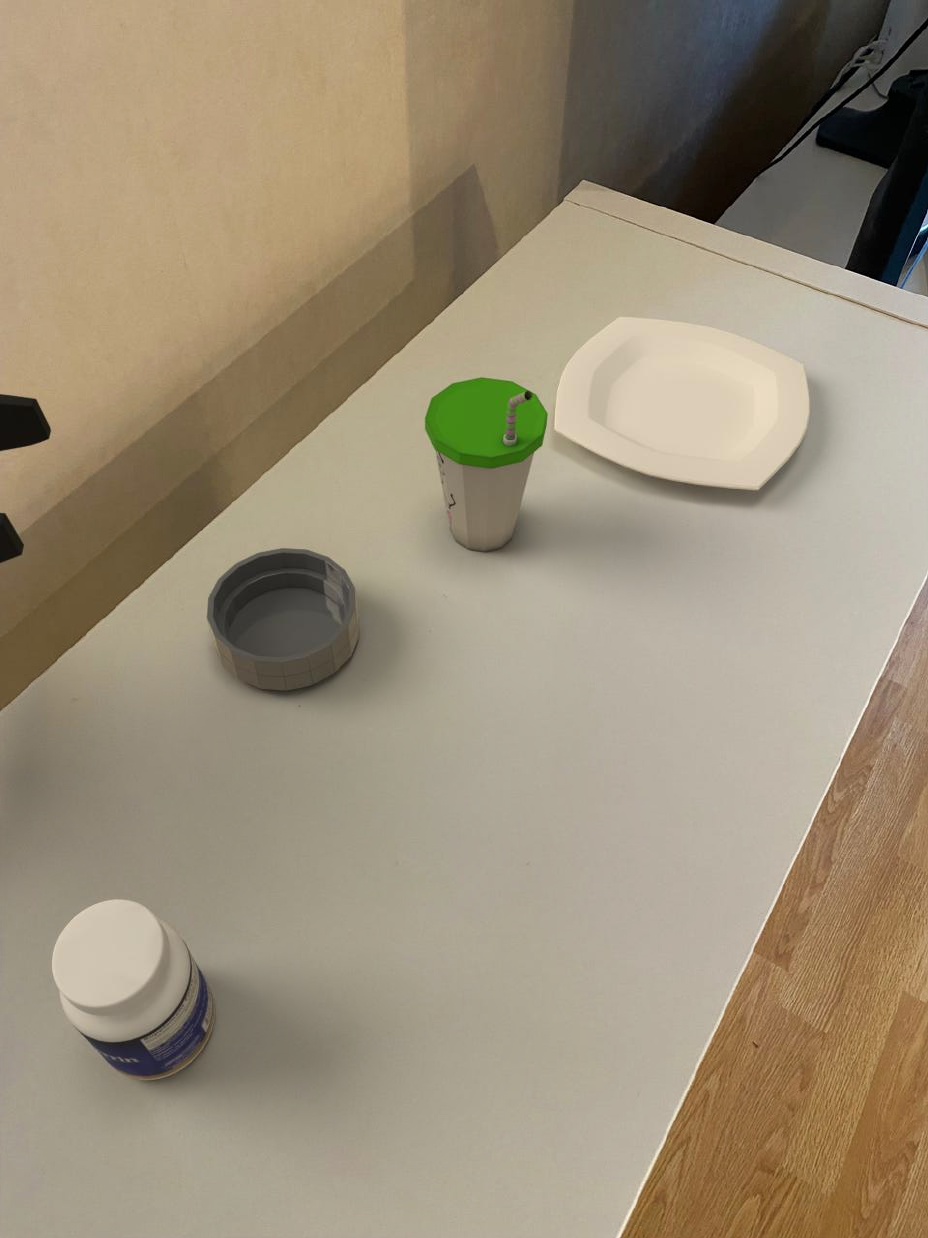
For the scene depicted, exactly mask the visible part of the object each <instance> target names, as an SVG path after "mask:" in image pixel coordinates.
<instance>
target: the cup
mask: <svg viewBox="0 0 928 1238" xmlns="http://www.w3.org/2000/svg"><path fill="white" fill-rule="evenodd" d="M548 415H549V414H548V412H547V410H546V408H545V407H544V405H543V404H542V402H541V400H540V399H539V397H538V395H537V394H536V393H534V392H532V391H531V390H529V389H527V388H525V387H523V386H521V385H520V384H518V383H516V382H515V381H512V380H507V379H497V378H491V377H490V378H489V377H482V376H481V377H476V378H472V379H467V380H461V381H457V382H453V383H451V384H449V385H448V386H447V387H445V388H444V389H442V390H441V391H440V392H438V393H437V394H435V395H434V396H432V397H431V399H430V402H429V404H428V407H427V411H426V414H425V416H424V430H425V432H426V434H427V436H428V438H429V440H430V443H431V445H432V447H433V448H434V451H435V457H436V461H437V468H438V472H439V479H440V482H441V483H440V484H441V489H442V493H443V498H444V505H445V510H446V514H447V520H448V524H449V530H450V532H451V534H452V537H453V539H454V541H455V542H456V543H458V544H459V545H461V546H462V547H464V548H465V549H467V550H469V551H475V552H481V553H487V552H492V551H495V550H501V549H502V548H503V547H504V546H505V545H507V544H508V543H509V542H511V540H512V539H513V536H514V531H515V529H516V524H517V520H518V516H519V513H520V509H521V505H522V501H523V497H524V494H525V491H526V490H525V488H526V486H527V483H528V479H529V474H530V470H531V467H532V463H533V458H534V455H535V452H536V451H537V450H539V449H540V448H542V446H543V443H544V439H545V434H546V430H547V425H548Z"/></svg>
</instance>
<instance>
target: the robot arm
mask: <svg viewBox="0 0 928 1238" xmlns="http://www.w3.org/2000/svg"><path fill="white" fill-rule="evenodd" d="M51 433H52V429H51V425H50V423H49V422H48V420H47V418H46V415H45V413H44V412H43V409H42V408H41V406H40V404H39V401H38V400H37V398H33V397H28V396H21V395H20V396H19V395H11V394H5V393H0V452H4V451H9V450H10V451H11V450H16V449H22V448H25V447H31V446H33V445H37V444H40V443H42V442H45V441H48V440H50V437H51ZM24 547H25V544H24V541H23V540H22V539H21V536H20V535H19V533H18V532H17V530H16V529H15V527H14V525H13V523H12V522H11V520H10V518H9V517H8V515H7V514H6V512H0V564H2V563H5V562H7V561H10V560H12V559H15V558H17V557H20V556H22V555H23V552H24Z"/></svg>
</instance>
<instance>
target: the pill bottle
mask: <svg viewBox="0 0 928 1238" xmlns="http://www.w3.org/2000/svg"><path fill="white" fill-rule="evenodd" d="M51 958H52V959H51V971H52V976H53V980H54V983H55V985H56V987H57V988H58V990H59V999H60V1003H61V1007H62V1009H63V1012H64V1013H65V1015H66V1017H67V1020H69V1022H70V1023H71V1024H72V1026H73V1027H74V1028H75V1029H76V1031H78V1032H79V1034H80V1035H82V1036H83V1037H84V1038H85V1040H86V1041H87V1042H88V1043H89V1044H90V1045H91V1046H92V1047H93V1048H94V1049H95V1050H96V1051H97V1053H99V1054H100V1055H101V1057H102V1058H103V1059H104V1060H105V1061H106V1062H107V1063H108V1064H109V1065H110V1066H111V1067H112V1068H113V1069H114V1070H115V1071H116V1072H118V1073H120V1074H121V1075H123V1076H126V1077H128V1078H130V1079H133V1080H140V1081H155V1080H161V1079H164V1078H168V1077H169V1076H172V1075H173V1074H176V1073H178V1072H180V1071H181V1070H183V1069H184V1068H186V1067H187V1066H188V1065H190V1064H191V1063H192V1062H193V1061H194V1060H195V1059H196V1058H197V1057H198V1056H199V1055H200V1053H201V1052H202V1050H204V1047H205V1046H206V1044H207V1042H208V1040H209V1039H210V1036H211V1033H212V1031H213V1028H214V1024H215V1015H216V1006H215V999H214V995H213V992H212V990H211V987H210V985H209V983H208V982H207V979H206V978H205V976H204V974H203V972H202V971H201V969H200V967H199V966H198V964H197V962H196V960H195V958H194V957H193V955H192V952H191V951H190V949H189V947H188V945H187V943H186V942H185V940H184V938H183V937H182V935H180V933H179V932H178V931H177V930H176V929H175V928H174V927H173V926H172V925H171V924H169V923H168V922H167V921H165V920H163V919H161V918H159V917H157V916H156V914H154V913H153V911H151V910H150V909H149V907H146V906H145V905H143V904H141V903H139V902H136V901H134V900H129V899H122V898H121V899H119V898H118V899H117V898H114V899H107V900H104V901H100V902H97V903H95V904H92V905H91V906H88V907H86V908H84V909H83V910H82V911H81V912H79V913H77V915H75V916H74V917H73V918H72V919H71V920H70V921H69V922H68V923H67V924H66V926H65V927H64V928H63V929H62V931H61V933H60V934H59V936H58V938H57V939H56V942H55V945H54V948H53V952H52V957H51Z"/></svg>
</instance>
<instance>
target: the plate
mask: <svg viewBox="0 0 928 1238" xmlns="http://www.w3.org/2000/svg"><path fill="white" fill-rule="evenodd" d="M810 417H811V397H810V390H809V384H808V377H807V373H806V367H805V365H804V363H802V362H800V361H798V360H796V359H794V358H791V357H790V356H787V355H786V354H784V353H781V352H779V351H776V350H774V349H772V348H770V347H768V346H766V345H764V344H760V343H758V342H756V341H753V340H751V339H748V338H746V337H743V336H740V335H738V334H735V333H731V332H729V331H725V330H722V329H719V328H716V327H711V326H705V325H701V324H696V323H690V322H683V321H675V320H666V319H658V318H657V319H656V318H648V317H647V318H646V317H631V316H630V317H629V316H619V317H617V318H616V319H614V320H613V321H611V322H610V323H609V324H608V325H605V327H603V328H602V329H601V330H599V331H598V332H597V333H596V334H595V335H593V336H592V337H590V338H589V339H588V340H587V341H586V342H585V343H584V344H582V346H581V347H579V348H578V349H577V351H576V352H575V353H574V354H573V355H572V357H571V358H570V360H568V362H567V364H566V365H565V367H564V369H563V371H562V374H561V376H560V379H559V382H558V388H557V391H556V399H555V409H554V425H553V429H554V432H556V433H557V434H558V435H561V436H563V437H564V438H566V439H568V440H570V441H571V442H573V443H575V444H577V445H578V446H580V447H582V448H585V450H588V451H590V452H592V453H594V454H596V455H597V456H599V457H601V458H604V459H606V460H609V461H610V462H612V463H614V464H617V465H619V466H622V467H624V468H627V469H629V470H632V471H634V472H637V473H641V474H643V475H645V476H650V477H654V478H658V479H663V480H666V481H671V482H678V483H684V484H691V485H696V486H703V487H712V488H713V487H714V488H722V489H723V488H724V489H734V490H747V491H759V490H760V489H761V488H763V486H764V485H765V484H766V483H767V482H768V481H769V480H770V479H771V478H773V476H775V474H777V472H779V470H781V468H782V467H784V465H785V464H786V463H787V462H788V461H789V460H790V458H791V457H792V456H793V454H794V453H795V452H796V450H797V449H798V448H799V446H800V445H801V443H802V441H803V439H804V437H805V435H806V433H807V431H808V426H809V423H810Z"/></svg>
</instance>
